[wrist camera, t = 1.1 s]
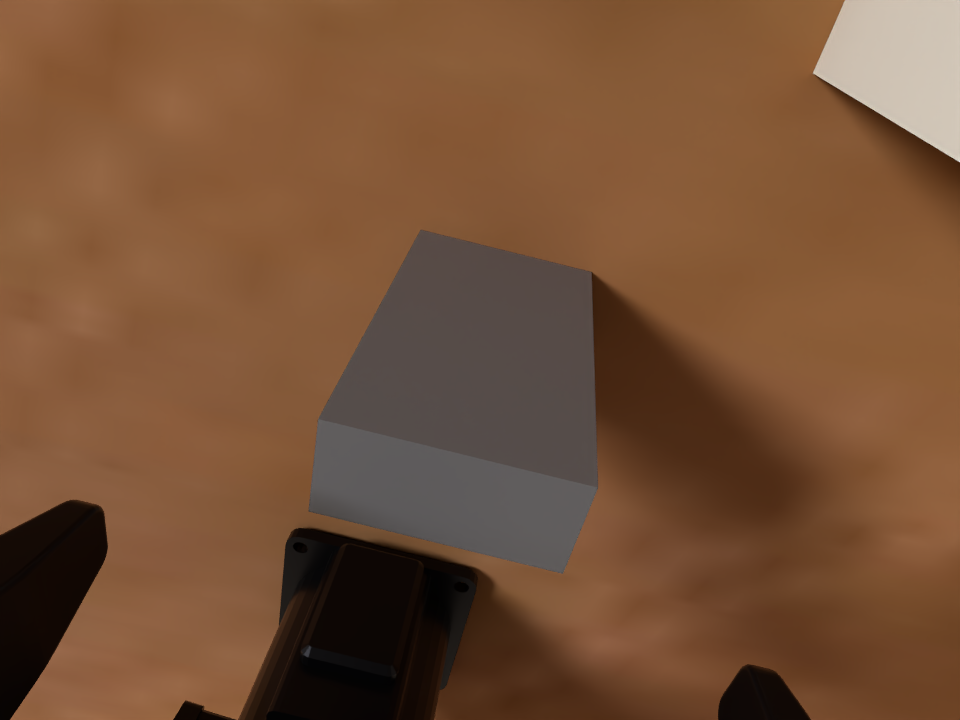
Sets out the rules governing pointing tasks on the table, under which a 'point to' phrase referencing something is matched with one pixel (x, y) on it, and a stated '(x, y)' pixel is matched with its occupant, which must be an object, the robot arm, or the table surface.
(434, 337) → the domino
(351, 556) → the robot arm
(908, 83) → the domino
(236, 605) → the table surface
